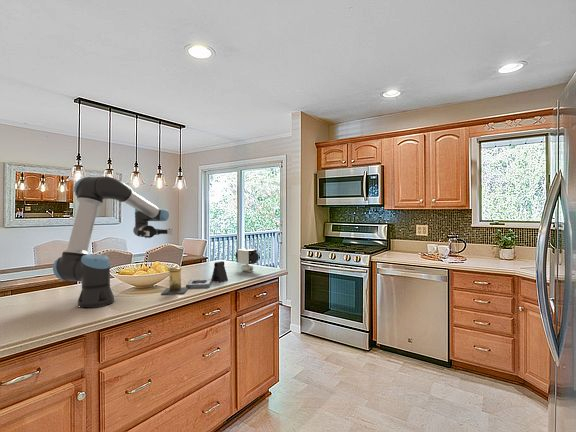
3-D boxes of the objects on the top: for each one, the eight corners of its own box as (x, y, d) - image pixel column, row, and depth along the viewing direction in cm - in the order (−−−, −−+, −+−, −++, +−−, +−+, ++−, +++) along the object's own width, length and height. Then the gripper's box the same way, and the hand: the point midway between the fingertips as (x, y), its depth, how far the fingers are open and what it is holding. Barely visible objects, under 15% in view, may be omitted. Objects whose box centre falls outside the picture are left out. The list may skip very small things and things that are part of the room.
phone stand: (228, 280, 202) (227, 261, 202) (221, 282, 197) (220, 263, 197) (218, 278, 207) (217, 260, 207) (211, 280, 202) (210, 261, 202)
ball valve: (260, 272, 228) (260, 247, 228) (251, 273, 222) (251, 248, 222) (243, 269, 240) (243, 245, 240) (235, 270, 234) (234, 246, 233)
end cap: (180, 291, 172) (179, 269, 171) (167, 292, 171) (166, 269, 171) (182, 288, 178) (182, 267, 178) (170, 288, 178) (169, 267, 177)
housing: (209, 287, 183) (209, 284, 183) (185, 288, 182) (185, 285, 182) (211, 282, 197) (211, 278, 197) (190, 282, 196) (190, 279, 195)
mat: (184, 294, 169) (184, 292, 169) (161, 295, 168) (161, 293, 168) (188, 288, 181) (188, 287, 181) (166, 289, 180) (166, 288, 180)
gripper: (167, 236, 205) (181, 238, 189) (125, 238, 187) (138, 241, 172) (167, 224, 205) (181, 225, 189) (125, 226, 187) (137, 227, 172)
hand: (161, 233), depth 181 cm, fingers open, 13 cm apart
